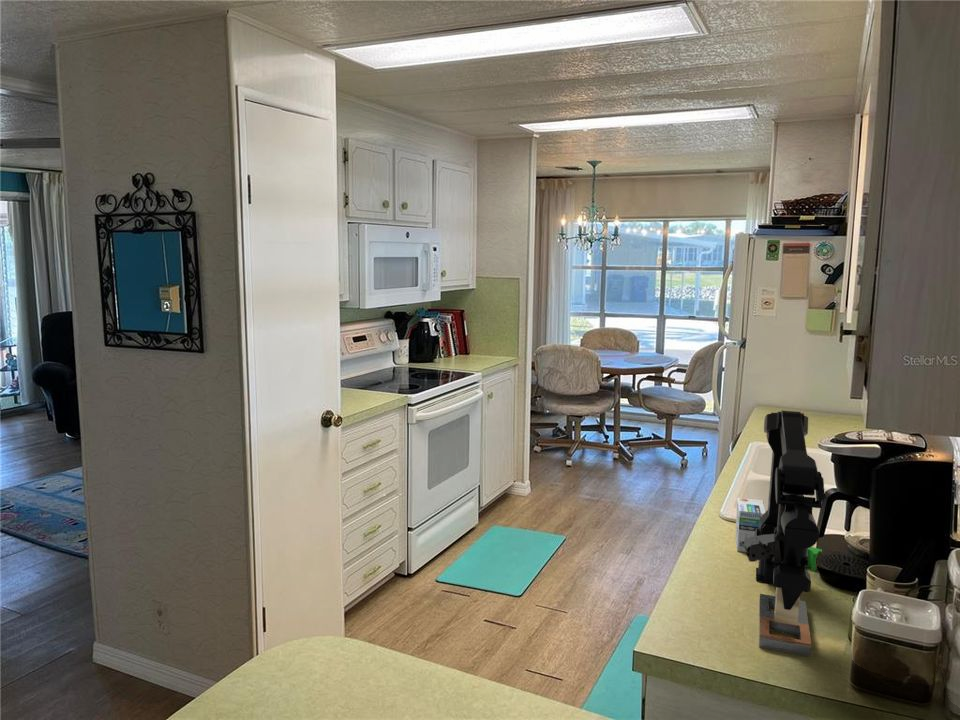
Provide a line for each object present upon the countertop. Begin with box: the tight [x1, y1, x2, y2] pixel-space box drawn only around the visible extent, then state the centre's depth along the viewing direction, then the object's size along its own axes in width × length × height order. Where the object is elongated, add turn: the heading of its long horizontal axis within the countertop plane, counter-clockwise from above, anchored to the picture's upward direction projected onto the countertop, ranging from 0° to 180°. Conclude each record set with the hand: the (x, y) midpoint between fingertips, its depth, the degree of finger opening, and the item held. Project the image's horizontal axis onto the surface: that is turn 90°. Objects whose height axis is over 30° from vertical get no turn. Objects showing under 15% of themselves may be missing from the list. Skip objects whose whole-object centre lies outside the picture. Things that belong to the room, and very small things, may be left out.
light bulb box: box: [734, 497, 767, 553], centre depth 185 cm, size 11×7×11 cm, turn 164°
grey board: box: [758, 593, 812, 658], centre depth 146 cm, size 19×9×2 cm, turn 159°
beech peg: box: [773, 587, 801, 625], centre depth 140 cm, size 4×4×8 cm
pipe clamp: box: [806, 546, 823, 572], centre depth 174 cm, size 11×4×5 cm, turn 49°
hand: (786, 604), depth 140 cm, fingers closed on beech peg, 4 cm apart
